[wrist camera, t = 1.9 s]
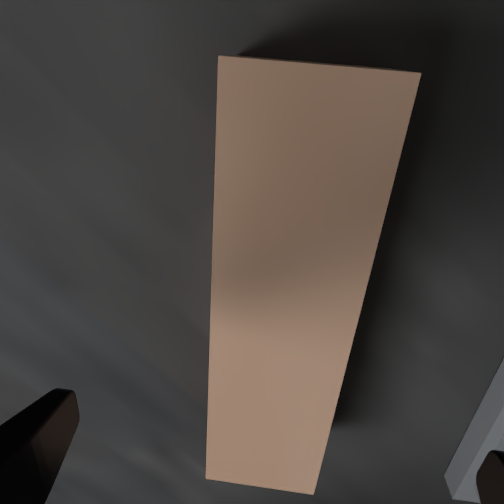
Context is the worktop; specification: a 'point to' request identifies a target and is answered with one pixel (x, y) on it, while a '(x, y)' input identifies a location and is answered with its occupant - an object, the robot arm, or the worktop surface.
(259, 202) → the clay bar
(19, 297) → the worktop surface
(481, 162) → the worktop surface
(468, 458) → the grey cradle stand
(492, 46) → the worktop surface
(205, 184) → the worktop surface
